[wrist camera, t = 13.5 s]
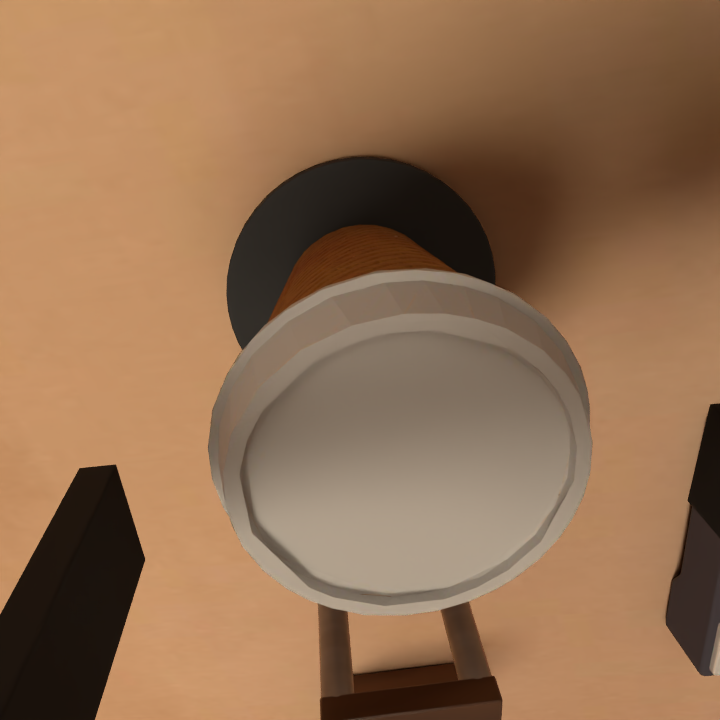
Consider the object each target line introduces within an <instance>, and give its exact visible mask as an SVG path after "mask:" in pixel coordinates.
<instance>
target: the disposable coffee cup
mask: <svg viewBox="0 0 720 720" xmlns="http://www.w3.org/2000/svg"><path fill="white" fill-rule="evenodd" d="M208 452H209V459H210V466H211V474H212V480H213V482H214V485H215V487H216V490H217V493H218V495H219V498H220V500H221V503H222V506H223V508H224V509H225V511H226V512H227V514H228V515H229V517H230V520H231V523H232V526H233V528H234V530H235V532H236V534H237V536H238V538H239V540H240V542H241V544H242V546H243V548H244V549H245V550H246V551H247V552H248V553H249V555H250V556H251V557H252V558H253V559H254V560H255V562H256V563H257V564H258V565H259V566H260V567H261V569H262V570H263V571H264V572H265V573H267V574H268V575H269V576H271V577H272V578H273V579H275V580H276V581H277V582H279V583H280V584H281V585H282V586H284V587H285V588H286V589H288V590H290V591H292V592H294V593H296V594H298V595H300V596H302V597H304V598H306V599H308V600H309V601H312V602H315V603H318V604H321V605H324V606H327V607H330V608H333V609H338V610H343V611H348V612H353V613H358V614H362V615H411V614H419V613H426V612H433V611H439V610H442V609H445V608H449V607H452V606H455V605H459V604H462V603H465V602H468V601H471V600H474V599H476V598H478V597H480V596H483V595H485V594H487V593H489V592H491V591H494V590H496V589H498V588H499V587H501V586H503V585H504V584H506V583H508V582H509V581H511V580H513V579H514V578H516V577H517V576H518V575H520V574H521V573H522V572H523V571H525V570H526V569H527V568H529V567H530V566H531V565H532V564H534V563H535V562H536V561H538V560H539V559H540V558H541V557H542V556H543V555H544V554H545V553H546V552H547V551H548V549H549V548H550V547H551V546H552V545H553V544H554V543H555V542H556V541H557V540H558V539H559V538H560V536H561V535H562V533H563V532H564V530H565V529H566V527H567V526H568V524H569V523H570V521H571V520H572V518H573V516H574V514H575V512H576V510H577V508H578V506H579V504H580V502H581V500H582V498H583V496H584V493H585V489H586V485H587V482H588V478H589V475H590V468H591V455H592V438H591V431H590V406H589V398H588V391H587V387H586V384H585V380H584V377H583V373H582V370H581V367H580V365H579V363H578V361H577V359H576V358H575V356H574V354H573V352H572V350H571V348H570V347H569V345H568V343H567V341H566V340H565V339H564V338H563V336H562V335H561V334H560V333H559V332H558V330H557V329H556V328H555V327H554V326H553V325H552V323H551V322H550V321H549V320H548V319H547V318H546V317H545V316H544V315H542V314H541V313H540V312H538V311H537V310H536V309H534V308H533V307H532V306H530V305H529V304H528V303H527V302H525V301H524V300H523V299H521V298H520V297H519V296H517V295H516V294H515V293H512V292H510V291H508V290H505V289H503V288H500V287H498V286H495V285H493V284H491V283H488V282H486V281H483V280H480V279H478V278H475V277H472V276H470V275H467V274H463V273H457V272H456V271H455V270H453V269H452V268H450V267H449V266H447V265H446V264H445V263H444V262H442V261H441V260H439V259H438V258H436V257H435V256H433V255H432V254H430V253H429V252H428V251H426V250H425V249H423V248H422V247H420V246H419V245H418V244H417V243H415V242H414V241H413V240H411V239H410V238H408V237H407V236H406V235H404V234H402V233H400V232H397V231H395V230H393V229H391V228H387V227H382V226H378V225H354V226H348V227H343V228H341V229H338V230H336V231H333V232H331V233H329V234H326V235H325V236H323V237H322V238H320V239H319V240H317V241H316V242H314V243H313V244H312V245H311V246H310V247H309V248H308V249H307V250H306V251H304V253H303V254H302V256H301V257H300V258H299V260H298V261H297V263H296V264H295V266H294V268H293V270H292V272H291V274H290V276H289V278H288V280H287V282H286V284H285V287H284V289H283V291H282V293H281V295H280V297H279V299H278V301H277V304H276V306H275V308H274V310H273V312H272V314H271V316H270V318H269V320H268V323H267V324H266V325H264V326H263V328H262V329H261V330H260V331H259V332H258V333H257V334H256V336H255V337H254V338H253V339H252V340H251V341H250V342H249V343H248V345H247V346H246V347H245V348H244V349H243V350H242V351H241V353H240V354H239V355H238V357H237V359H236V360H235V362H234V364H233V365H232V367H231V368H230V370H229V372H228V373H227V376H226V378H225V380H224V383H223V385H222V388H221V390H220V393H219V395H218V397H217V400H216V402H215V405H214V407H213V410H212V418H211V427H210V435H209V443H208Z"/></svg>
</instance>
